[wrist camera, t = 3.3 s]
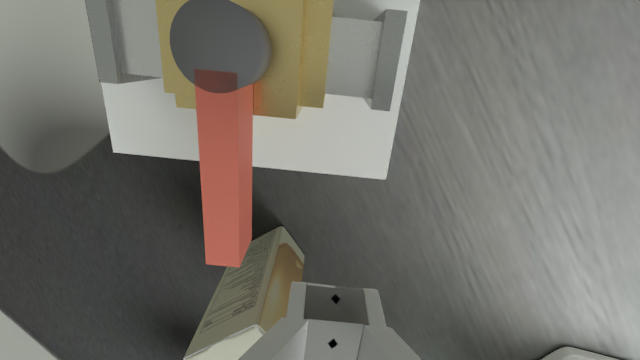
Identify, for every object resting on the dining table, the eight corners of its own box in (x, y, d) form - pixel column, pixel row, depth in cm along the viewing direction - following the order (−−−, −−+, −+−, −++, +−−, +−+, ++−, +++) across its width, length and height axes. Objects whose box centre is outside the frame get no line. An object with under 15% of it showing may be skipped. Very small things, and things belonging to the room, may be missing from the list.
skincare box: (257, 279, 33) (218, 399, 21) (233, 250, 31) (176, 361, 20) (308, 254, 31) (295, 369, 20) (285, 222, 30) (255, 326, 18)
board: (421, -19, 22) (424, -21, 21) (384, 176, 27) (385, 179, 27) (85, -53, 22) (76, -56, 21) (119, 149, 27) (113, 152, 27)
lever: (273, 9, 16) (260, -1, 13) (266, 240, 21) (256, 269, 18) (195, 1, 16) (165, -10, 13) (208, 234, 21) (189, 262, 18)
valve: (391, 10, 22) (419, -11, 15) (375, 107, 25) (393, 129, 18) (139, -15, 22) (48, -48, 15) (151, 84, 25) (78, 97, 18)
